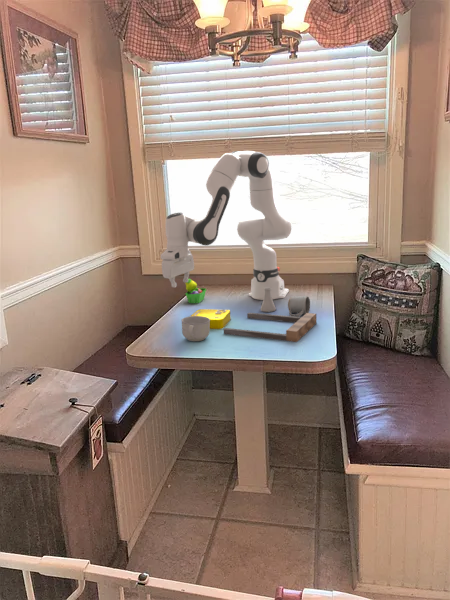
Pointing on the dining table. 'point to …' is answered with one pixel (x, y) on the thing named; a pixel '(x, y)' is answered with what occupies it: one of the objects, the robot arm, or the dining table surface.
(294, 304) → the ceramic mug
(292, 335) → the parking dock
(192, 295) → the fruit basket
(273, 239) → the robot arm
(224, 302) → the dining table surface
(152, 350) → the dining table surface
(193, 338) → the teacup
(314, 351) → the dining table surface
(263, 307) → the flask
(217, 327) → the element tile
